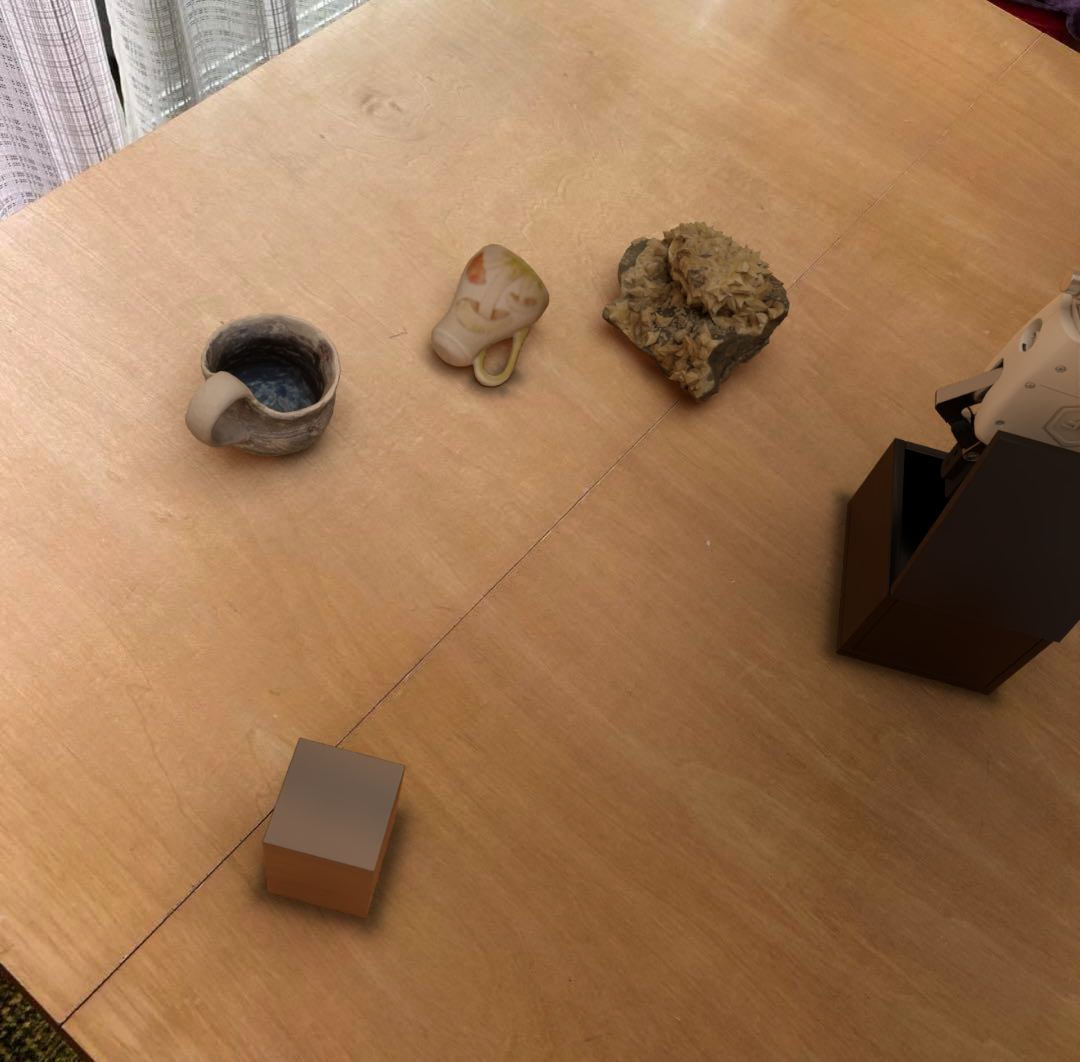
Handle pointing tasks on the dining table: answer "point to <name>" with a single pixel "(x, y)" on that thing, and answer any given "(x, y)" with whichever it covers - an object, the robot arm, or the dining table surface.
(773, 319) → the mineral specimen
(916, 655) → the box
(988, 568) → the lid
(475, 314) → the mug
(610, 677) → the dining table surface
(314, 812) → the stand
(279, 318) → the mug
